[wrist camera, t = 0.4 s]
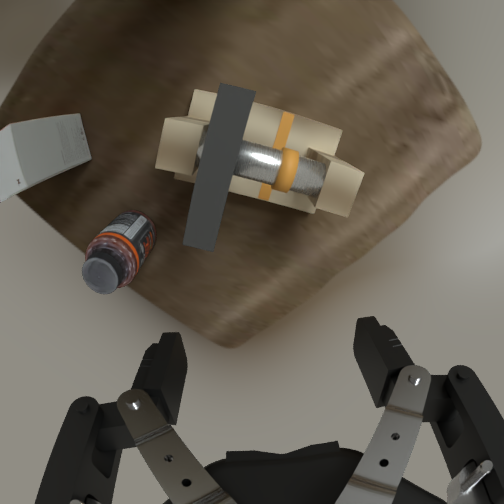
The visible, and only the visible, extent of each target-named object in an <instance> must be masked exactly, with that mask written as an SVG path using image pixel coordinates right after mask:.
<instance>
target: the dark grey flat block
mask: <svg viewBox="0 0 504 504" xmlns="http://www.w3.org/2000/svg"><path fill="white" fill-rule="evenodd" d="M255 94H256V91H253V90H249V89H245V88H240V87H236V86H232V85H227V84H223V83H220V86H219V90H218V93H217V97H216V100H215V104H214V108H213V111H212V115H211V119H210V123H209V127H208V130H207V134H206V138H205V142H204V146H203V151H202V155H201V159H200V163H199V167H198V172H197V176H196V181H195V185H194V190H193V194H192V199H191V204H190V209H189V214H188V219H187V224H186V229H185V234H184V239H183V245H186V246H190V247H194V248H199V249H203V250H207V251H211V252H213V251H214V247H215V243H216V239H217V235H218V231H219V227H220V223H221V219H222V215H223V211H224V207H225V203H226V199H227V195H228V191H229V187H230V184H231V180H232V176H233V172H234V168H235V165H236V161H237V157H238V154H239V150H240V146H241V143H242V139H243V136H244V132H245V128H246V125H247V121H248V118H249V114H250V111H251V107H252V104H253V101H254V97H255Z"/></svg>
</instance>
